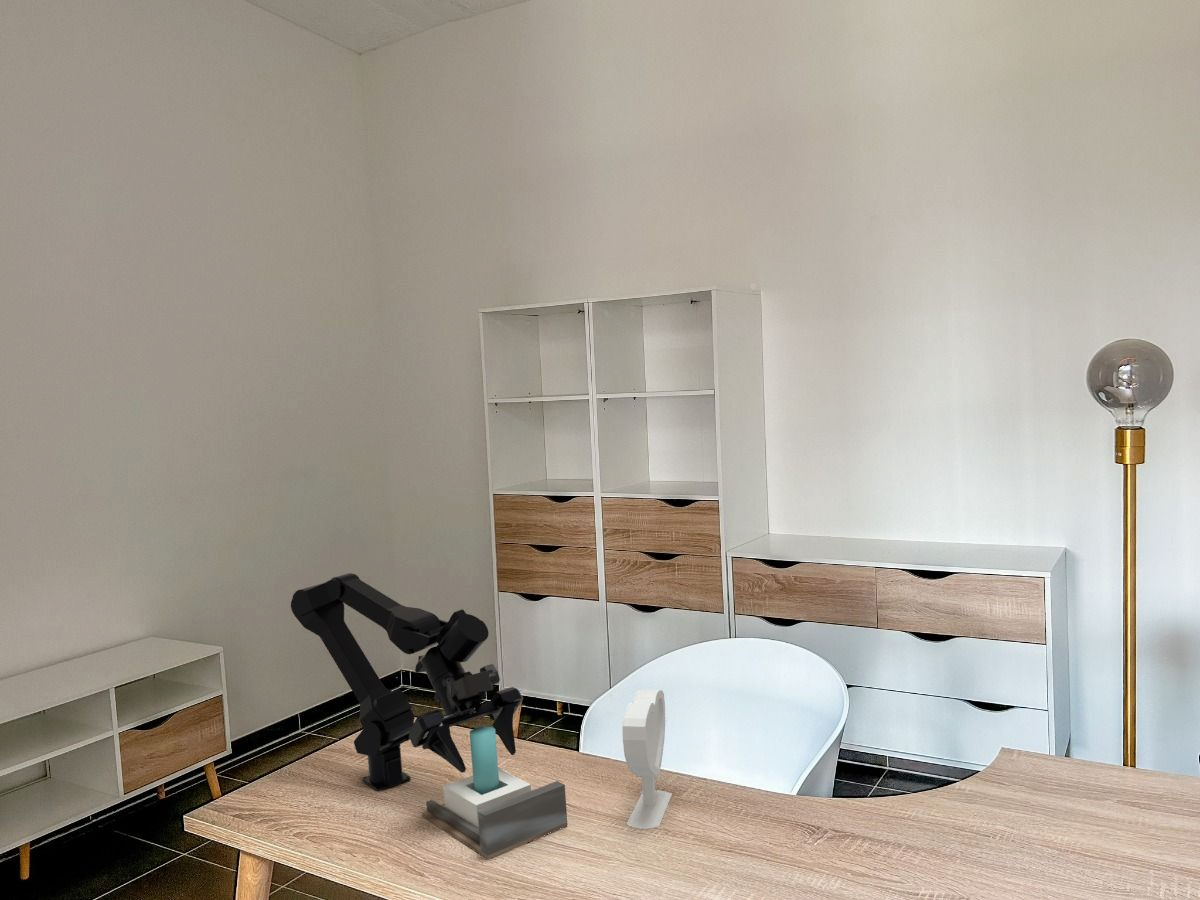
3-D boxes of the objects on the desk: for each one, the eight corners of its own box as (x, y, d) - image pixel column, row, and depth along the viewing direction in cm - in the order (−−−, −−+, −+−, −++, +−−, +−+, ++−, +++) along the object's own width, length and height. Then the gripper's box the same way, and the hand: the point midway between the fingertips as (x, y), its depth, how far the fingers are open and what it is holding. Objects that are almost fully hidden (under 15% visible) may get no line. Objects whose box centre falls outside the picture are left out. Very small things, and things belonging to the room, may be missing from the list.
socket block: (445, 815, 153) (443, 785, 153) (498, 795, 159) (496, 766, 159) (478, 835, 145) (476, 805, 145) (532, 814, 151) (530, 784, 151)
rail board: (422, 815, 155) (418, 776, 154) (497, 787, 164) (494, 750, 163) (488, 859, 139) (485, 815, 139) (567, 826, 148) (564, 784, 148)
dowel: (470, 813, 152) (464, 733, 151) (487, 803, 155) (481, 725, 154) (489, 818, 149) (483, 737, 148) (506, 808, 153) (500, 728, 152)
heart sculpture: (656, 832, 144) (649, 716, 143) (623, 830, 145) (616, 715, 144) (674, 788, 159) (668, 682, 158) (644, 787, 160) (638, 681, 159)
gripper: (411, 665, 148) (453, 754, 140) (513, 639, 159) (556, 719, 151) (392, 703, 154) (431, 790, 147) (490, 675, 166) (531, 754, 158)
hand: (489, 762), depth 151 cm, fingers open, 9 cm apart
